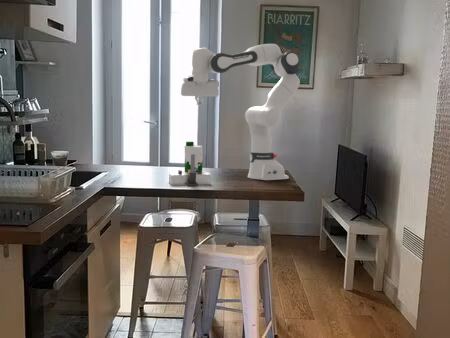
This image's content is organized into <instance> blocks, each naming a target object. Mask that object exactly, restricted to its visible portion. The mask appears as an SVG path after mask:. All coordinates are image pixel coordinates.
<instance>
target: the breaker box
mask: <svg viewBox="0 0 450 338" xmlns="http://www.w3.org/2000/svg"><path fill="white" fill-rule="evenodd" d="M195 173H196V183H198V186H200V185H211V184H212V174H211V173H210V172H208V171H203V170H202V171H201V170H198V172H195ZM168 183H169V185H170V186H187V183H189V173H188V172H185V171H184V172H183V170H181V169H179V170H178V171H177V172H169V173H168Z"/></svg>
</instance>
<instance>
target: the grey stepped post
mask: <svg viewBox="0 0 450 338" xmlns="http://www.w3.org/2000/svg"><path fill="white" fill-rule="evenodd" d="M186 186H187V187H189V188H195V187H198V186H199V185H198V183H196V173H195V154H191V172H190V173H189V183H187V185H186Z"/></svg>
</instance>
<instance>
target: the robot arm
mask: <svg viewBox="0 0 450 338" xmlns="http://www.w3.org/2000/svg"><path fill="white" fill-rule="evenodd" d="M192 52H193V53H192V58H191V66H192V71H191V75H187V76H186V77H184V78H183V80H182V81H183V83H182V85H181V88H180V95H181V96H182V97H194V99H195V101H196V106H203V105H204V101H205V99H206V97H218V96H220V93H219V92H220V91H219V87H220V82H219V81H218V79H212V78H209V76H210V75H209V74H210V73H213V74H223V73H226V72H227V71H229V70H230V69H231V68H233V67H239V66H243V65H249V66H251V67H261V66H267V65H270V69H271V70H272V72H273V74H274V76H275V77H276V78H278V79H280V80H278V81H277V83H276V84H275V85H274V86H273V88H272V89H271V90H270V91H269V93H268V94H267V96H266V97H267V100H266V102H265V103H264V105H262V106H259V105H257V106H256V105H255V106H251V107H249V108H248V109H246V111H245V113H244V118H245V121H246V122H247V124H248V127H249V132H250V138H251V139H250V140H251V142H250V143H251V148H250V149H251V150H250V154H249V162H250V165H249V170H248V174H247V178H249V179H251V180H262V181H275V180H276V181H277V180H287V179H289V175H287V174H285V173H286V172H285V169H284V166H283V165H282V164H281V163H280V162H279V161H277V160H276V159H275V158H278V154H277V153H273V152H272V144H273V143H272V142H273V138H272V135H271V134H270V133H269V129H268V128H273V127H276V126H278V125H279V124H280V122H281V119H282V115H281V113H282V112H283V109H284V107H286V105H287V103H288V102H289V101H290V100H291V98H293V96H294V95H295V93H296V92H297V90H298V88H300V84H301V82H300V81H301V80H300V78H299V77H298V75H296V74H297V73H298V72H299V67H300V63H301V57H300V55H299V54H298V53H297V52H295V51H286V52H284V53H282V51H281V48H280V46H279V45H278V44H276V43H264V44H263V43H262V44H258V45H255V46H251V47H248V48H247V49H246V50H245V51H243V52H239V53H235V54H234V53H233V54H227V53H225V52H223V53H222V52H218V53H215V52H213V51H211V50H209V49H208V48H207V47H201V48H199V47H198V48H196V49H195V50H193V51H192ZM199 97H201V101H200V100H199Z"/></svg>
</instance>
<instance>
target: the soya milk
mask: <svg viewBox="0 0 450 338" xmlns="http://www.w3.org/2000/svg"><path fill="white" fill-rule="evenodd" d="M194 143H195V142H194V141H185V146H184V172H188V170H191V154H195V172H198V170H201V171H202V172H203V155H204V154H203V152H204V151H203V150H204V149H203V145H197V144H196V145H195V144H194Z"/></svg>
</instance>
